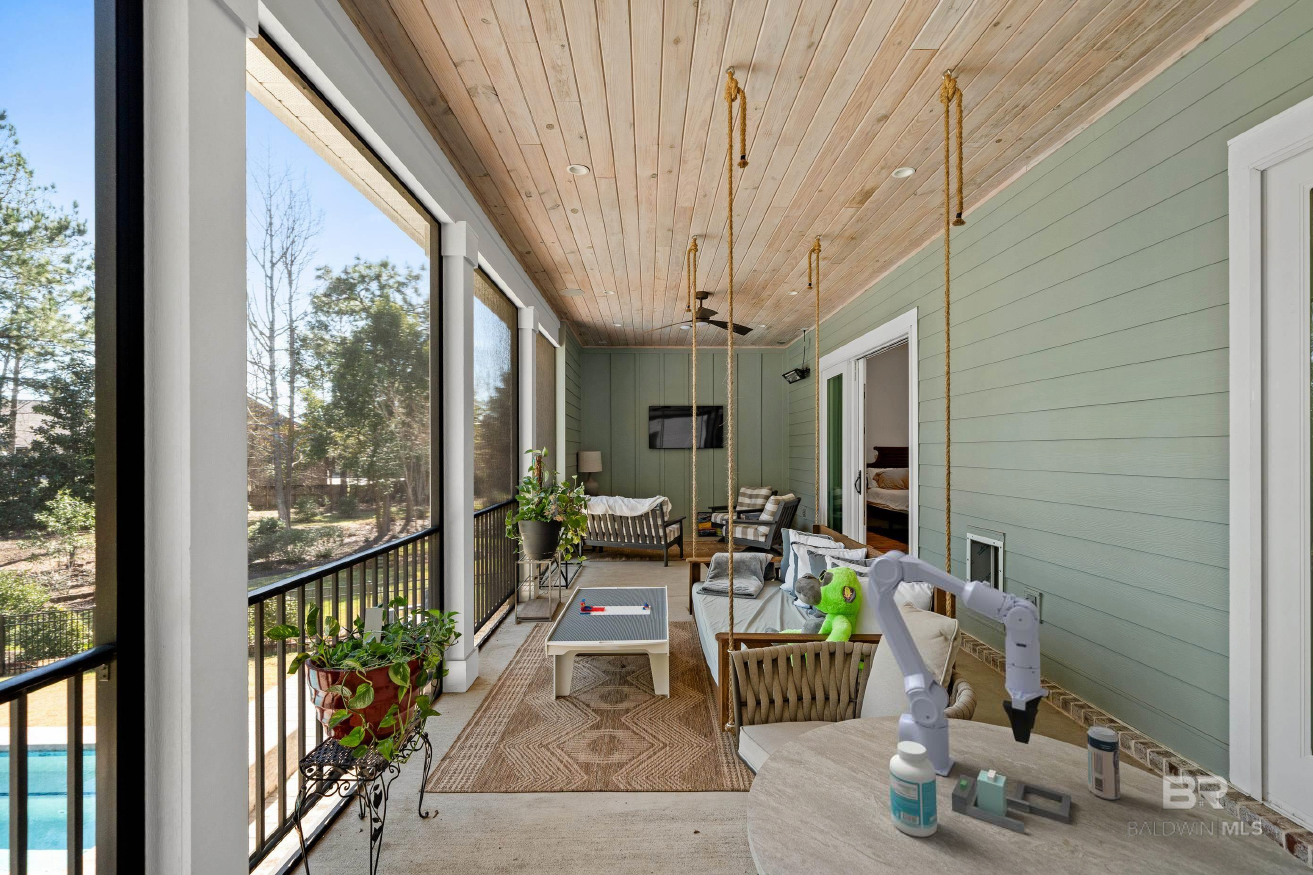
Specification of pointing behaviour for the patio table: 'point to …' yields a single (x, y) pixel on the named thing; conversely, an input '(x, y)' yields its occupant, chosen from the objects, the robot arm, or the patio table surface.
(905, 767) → the pill bottle
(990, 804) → the plug
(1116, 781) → the supplement canister
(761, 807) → the patio table surface
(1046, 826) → the patio table surface
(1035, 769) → the patio table surface
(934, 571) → the robot arm
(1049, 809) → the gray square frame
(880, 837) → the patio table surface
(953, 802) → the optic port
